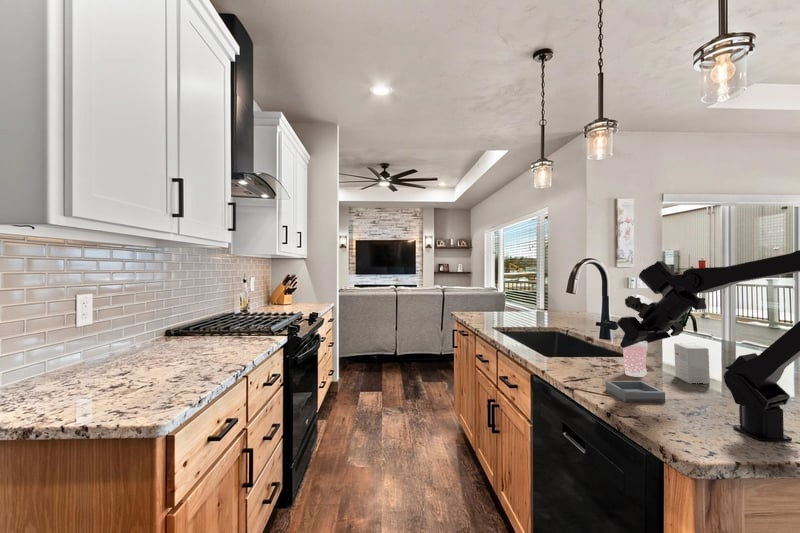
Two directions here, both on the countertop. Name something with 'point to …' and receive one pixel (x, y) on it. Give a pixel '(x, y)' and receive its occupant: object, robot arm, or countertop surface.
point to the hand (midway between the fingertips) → (629, 345)
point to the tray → (635, 391)
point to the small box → (692, 363)
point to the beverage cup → (635, 359)
